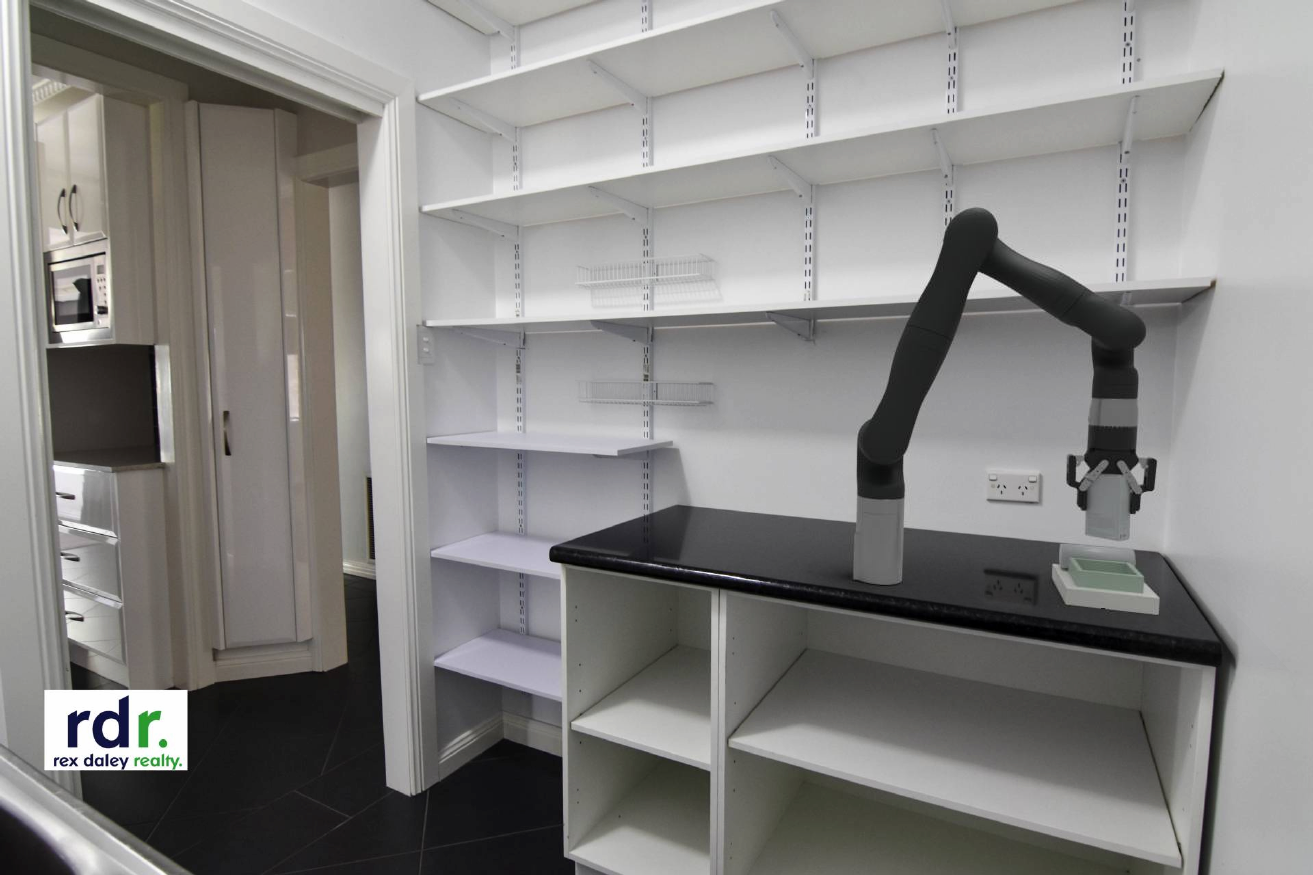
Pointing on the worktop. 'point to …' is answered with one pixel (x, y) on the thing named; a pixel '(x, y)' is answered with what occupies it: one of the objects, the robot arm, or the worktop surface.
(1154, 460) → the robot arm
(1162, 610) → the worktop surface
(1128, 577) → the green piece
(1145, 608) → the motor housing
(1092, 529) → the skincare box
